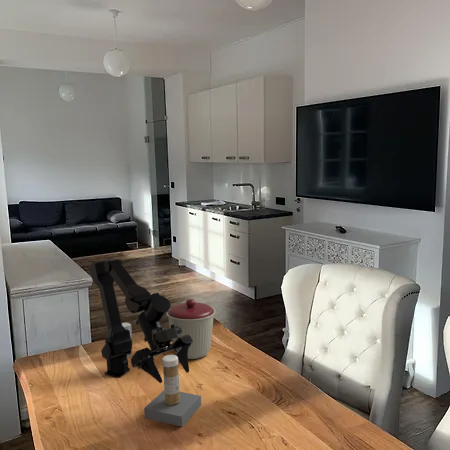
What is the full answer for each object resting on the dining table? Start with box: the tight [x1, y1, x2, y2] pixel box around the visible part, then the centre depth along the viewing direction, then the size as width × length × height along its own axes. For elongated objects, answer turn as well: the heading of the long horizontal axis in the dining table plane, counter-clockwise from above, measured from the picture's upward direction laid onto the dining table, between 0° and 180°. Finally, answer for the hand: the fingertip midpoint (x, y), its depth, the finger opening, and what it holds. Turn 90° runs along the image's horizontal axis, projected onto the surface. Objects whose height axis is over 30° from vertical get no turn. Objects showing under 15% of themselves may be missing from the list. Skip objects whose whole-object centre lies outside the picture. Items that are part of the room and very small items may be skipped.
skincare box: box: [122, 321, 133, 358], centre depth 173 cm, size 6×4×12 cm
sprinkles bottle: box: [161, 354, 181, 405], centre depth 134 cm, size 5×5×14 cm
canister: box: [165, 298, 216, 360], centre depth 174 cm, size 18×18×21 cm
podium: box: [143, 389, 202, 428], centre depth 135 cm, size 12×12×3 cm
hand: (175, 377), depth 133 cm, fingers open, 9 cm apart
